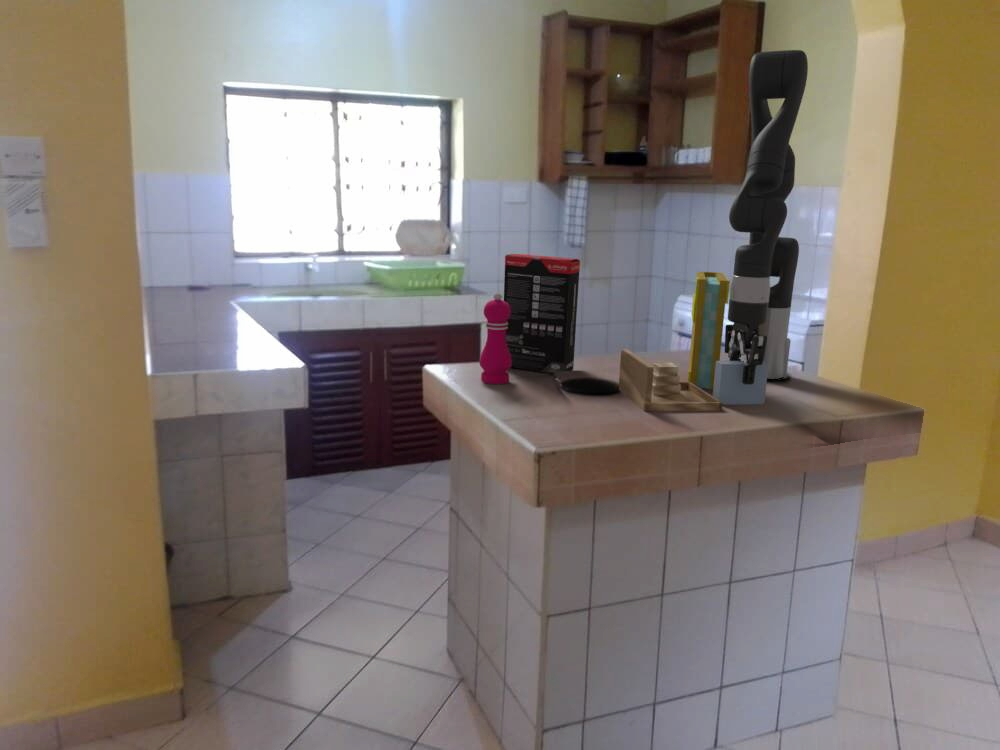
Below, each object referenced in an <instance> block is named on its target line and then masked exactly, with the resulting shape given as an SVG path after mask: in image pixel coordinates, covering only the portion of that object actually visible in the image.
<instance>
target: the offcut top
mask: <svg viewBox="0 0 1000 750" xmlns="http://www.w3.org/2000/svg"><path fill="white" fill-rule="evenodd" d="M652 366H653V367H654V373H655V374H657V375H658V376H677V375H679V374H678V373H679V366H678V365H677V364H676V365H675V363H672V362H653V364H652Z"/></svg>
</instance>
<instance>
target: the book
mask: <svg viewBox="0 0 1000 750" xmlns="http://www.w3.org/2000/svg"><path fill="white" fill-rule="evenodd" d="M730 283H731V282H730V279H729V278H727V277H726V276H725V274H724V273H723V272H717V271H716V272H715V271H697V272H696V279H695V292H694V293H693V294H692V304H691V306H692V307H691V318H692V325H691V326H692V327H691V335H690V337H691V339H690V346H689V347H690V348H689V349H690V350H689V358H688V361H689V362H688V370H687V371H688V372H687V374H688V375H687V382H691V383H693V384H694V385H696V386H697V387H699V388H700V389H704V390H705V389H708V390H712V391H713V386H714V376H715V366H716V361H721V352H722V351H721V350H722V340H723V329H724V321H725V320H724V319H725V311H726V310H725V309H726V304H728V305H729V295H730V285H731V284H730Z"/></svg>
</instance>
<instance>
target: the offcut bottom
mask: <svg viewBox="0 0 1000 750" xmlns="http://www.w3.org/2000/svg"><path fill="white" fill-rule="evenodd" d="M680 392H681V385H680V384H679V385H662V386H656V385H655V384H652V394H653V395H680Z"/></svg>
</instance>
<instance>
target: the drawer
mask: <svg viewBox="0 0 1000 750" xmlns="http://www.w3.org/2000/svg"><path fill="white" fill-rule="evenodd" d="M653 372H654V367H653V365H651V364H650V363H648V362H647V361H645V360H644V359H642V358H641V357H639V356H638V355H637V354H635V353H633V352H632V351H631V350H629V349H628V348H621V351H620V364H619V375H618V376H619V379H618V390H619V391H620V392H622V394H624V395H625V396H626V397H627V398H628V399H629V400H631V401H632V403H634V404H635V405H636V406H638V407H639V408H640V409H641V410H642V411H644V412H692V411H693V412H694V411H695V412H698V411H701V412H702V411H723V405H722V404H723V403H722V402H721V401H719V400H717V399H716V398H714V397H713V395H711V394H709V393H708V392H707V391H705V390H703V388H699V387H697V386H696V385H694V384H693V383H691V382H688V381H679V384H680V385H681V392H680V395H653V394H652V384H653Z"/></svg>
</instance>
